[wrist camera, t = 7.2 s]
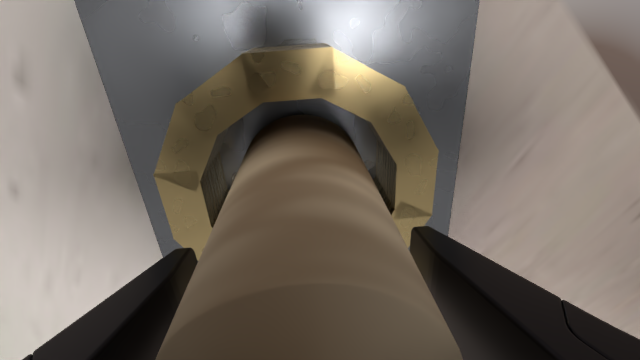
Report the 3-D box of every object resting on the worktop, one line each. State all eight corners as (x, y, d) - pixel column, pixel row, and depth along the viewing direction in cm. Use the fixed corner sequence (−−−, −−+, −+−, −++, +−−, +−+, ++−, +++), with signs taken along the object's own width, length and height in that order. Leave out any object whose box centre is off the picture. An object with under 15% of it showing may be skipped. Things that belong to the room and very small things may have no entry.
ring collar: (470, -36, 12) (547, -65, 8) (435, 261, 18) (470, 319, 14) (87, -12, 11) (-11, -31, 8) (183, 285, 17) (154, 352, 14)
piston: (360, 110, 12) (489, 267, 4) (360, 217, 14) (446, 467, 6) (234, 119, 12) (97, 302, 4) (252, 226, 14) (189, 496, 6)
